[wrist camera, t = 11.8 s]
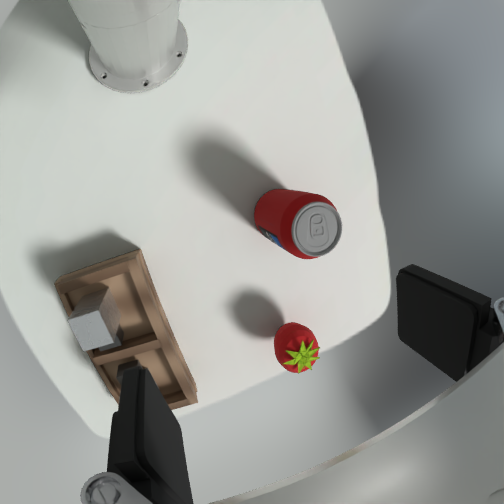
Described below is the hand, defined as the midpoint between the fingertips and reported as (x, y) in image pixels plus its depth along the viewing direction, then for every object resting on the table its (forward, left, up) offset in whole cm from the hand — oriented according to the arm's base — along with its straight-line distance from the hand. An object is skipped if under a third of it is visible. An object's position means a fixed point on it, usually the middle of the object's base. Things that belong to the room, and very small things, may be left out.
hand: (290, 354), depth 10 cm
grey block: (+7, -15, -28) cm, 33 cm away
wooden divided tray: (+12, -14, -30) cm, 35 cm away
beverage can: (+2, +10, -31) cm, 32 cm away
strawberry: (+19, +7, -31) cm, 37 cm away
